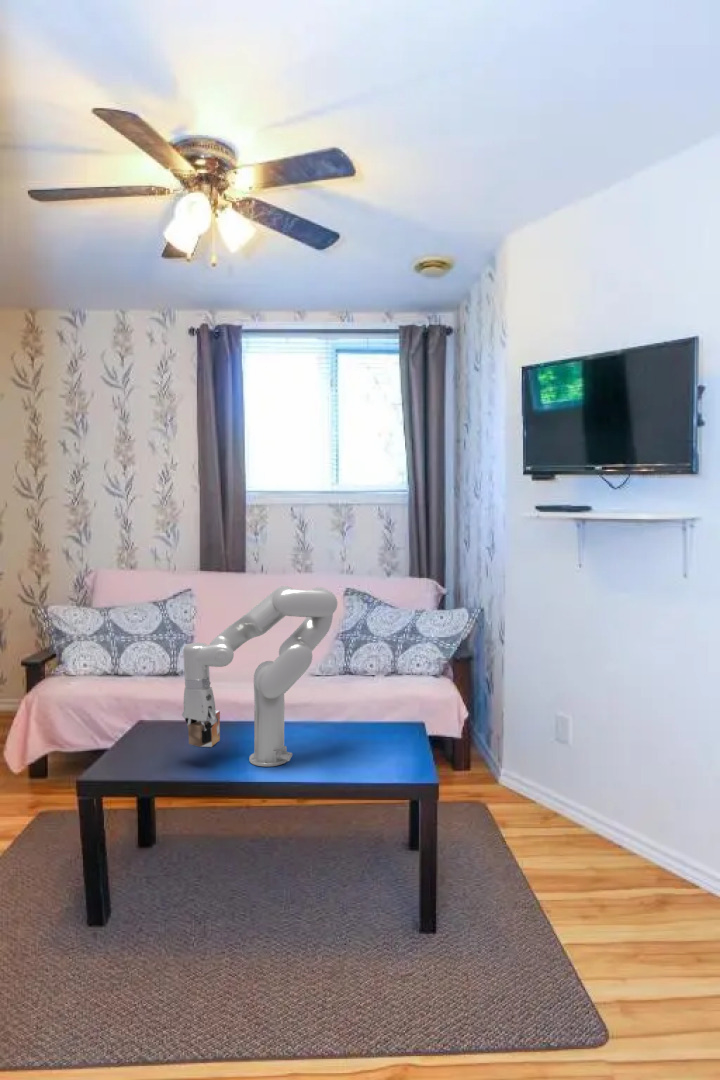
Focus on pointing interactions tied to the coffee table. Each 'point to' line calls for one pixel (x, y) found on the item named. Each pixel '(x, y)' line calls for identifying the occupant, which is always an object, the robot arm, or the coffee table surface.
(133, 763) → the coffee table surface
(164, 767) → the coffee table surface
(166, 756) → the coffee table surface
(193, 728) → the walnut block
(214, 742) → the small box
